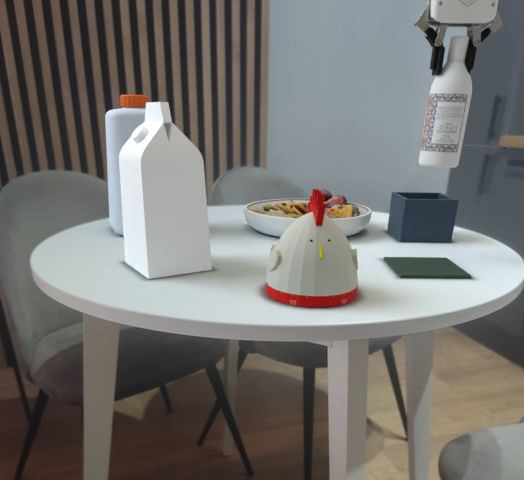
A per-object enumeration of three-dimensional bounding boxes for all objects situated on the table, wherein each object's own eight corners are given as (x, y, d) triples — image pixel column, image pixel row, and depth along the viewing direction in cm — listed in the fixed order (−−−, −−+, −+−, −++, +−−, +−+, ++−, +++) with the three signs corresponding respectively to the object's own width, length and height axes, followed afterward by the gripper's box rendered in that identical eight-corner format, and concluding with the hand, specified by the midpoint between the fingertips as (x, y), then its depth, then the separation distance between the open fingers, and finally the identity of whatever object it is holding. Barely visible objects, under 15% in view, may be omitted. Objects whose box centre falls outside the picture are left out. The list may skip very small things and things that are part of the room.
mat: (445, 260, 95) (446, 257, 94) (470, 278, 84) (471, 275, 84) (383, 259, 94) (383, 256, 94) (400, 277, 84) (400, 274, 83)
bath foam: (427, 164, 94) (447, 41, 86) (463, 167, 90) (488, 38, 82) (411, 165, 89) (431, 35, 81) (449, 168, 85) (474, 32, 77)
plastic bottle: (184, 234, 112) (177, 95, 100) (116, 238, 107) (100, 92, 95) (170, 222, 125) (163, 97, 113) (108, 225, 120) (93, 95, 108)
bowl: (354, 248, 102) (358, 209, 99) (222, 235, 112) (222, 199, 108) (379, 223, 127) (383, 191, 124) (270, 214, 137) (271, 184, 134)
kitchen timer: (270, 308, 69) (273, 196, 63) (261, 279, 81) (262, 183, 75) (368, 306, 70) (380, 196, 64) (344, 278, 83) (352, 184, 76)
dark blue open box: (434, 231, 119) (440, 192, 115) (451, 242, 109) (459, 199, 105) (387, 231, 119) (391, 192, 115) (399, 241, 108) (405, 199, 105)
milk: (212, 269, 86) (207, 102, 75) (148, 279, 81) (133, 100, 70) (183, 254, 95) (176, 103, 84) (125, 262, 90) (108, 101, 79)
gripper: (423, -71, 72) (406, 72, 80) (537, -69, 73) (509, 74, 80) (409, -55, 79) (395, 76, 87) (514, -53, 79) (490, 77, 87)
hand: (450, 73), depth 84 cm, fingers closed on bath foam, 4 cm apart
